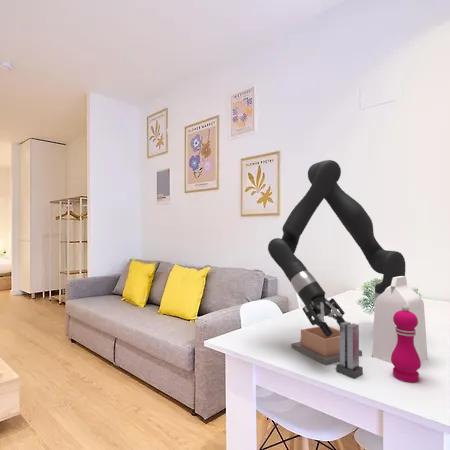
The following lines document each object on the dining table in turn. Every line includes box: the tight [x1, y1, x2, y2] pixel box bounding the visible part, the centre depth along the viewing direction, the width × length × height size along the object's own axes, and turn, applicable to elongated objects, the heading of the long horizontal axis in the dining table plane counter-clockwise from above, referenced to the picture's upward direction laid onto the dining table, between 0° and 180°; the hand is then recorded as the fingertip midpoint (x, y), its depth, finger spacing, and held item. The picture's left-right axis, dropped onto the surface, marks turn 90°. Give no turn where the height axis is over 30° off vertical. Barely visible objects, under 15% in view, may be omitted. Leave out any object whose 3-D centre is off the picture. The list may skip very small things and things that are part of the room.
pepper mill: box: [391, 305, 422, 383], centre depth 89 cm, size 7×7×20 cm
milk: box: [372, 275, 429, 364], centre depth 102 cm, size 12×12×26 cm
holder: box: [291, 325, 363, 366], centre depth 107 cm, size 16×16×6 cm
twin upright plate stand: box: [335, 321, 364, 380], centre depth 91 cm, size 4×6×14 cm
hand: (338, 332), depth 94 cm, fingers open, 8 cm apart
